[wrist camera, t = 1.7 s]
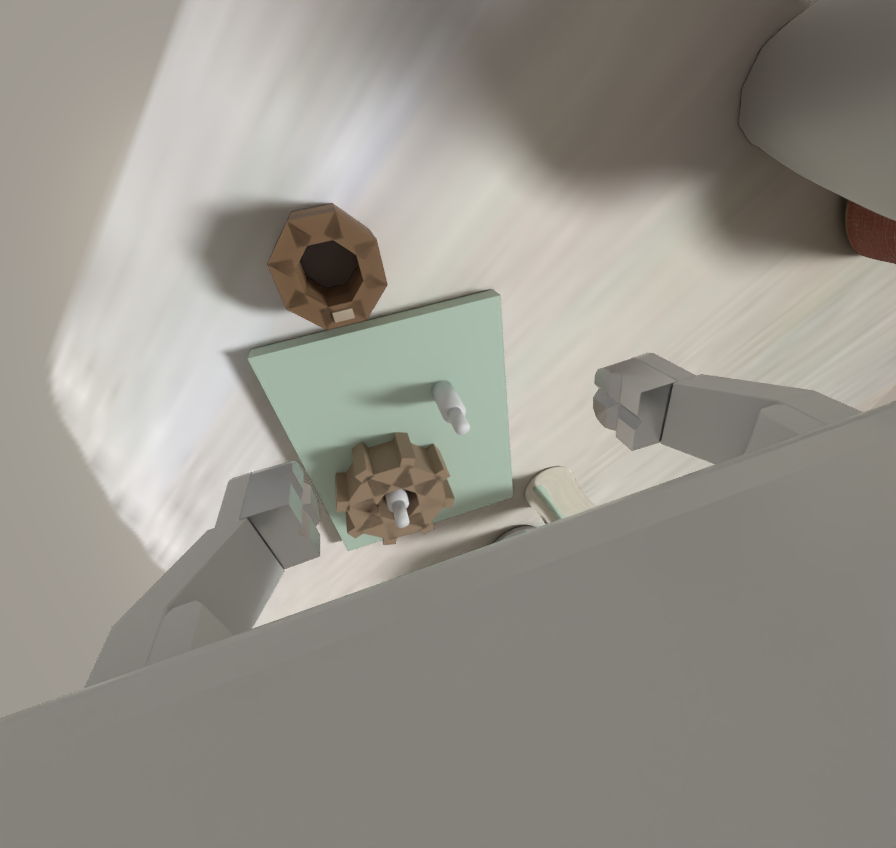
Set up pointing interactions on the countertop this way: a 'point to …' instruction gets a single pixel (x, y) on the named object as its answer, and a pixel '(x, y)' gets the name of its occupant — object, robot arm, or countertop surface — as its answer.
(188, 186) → the countertop surface
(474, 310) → the board
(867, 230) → the planter
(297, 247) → the gear
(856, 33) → the vase
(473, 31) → the countertop surface
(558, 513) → the beer glass
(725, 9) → the countertop surface
